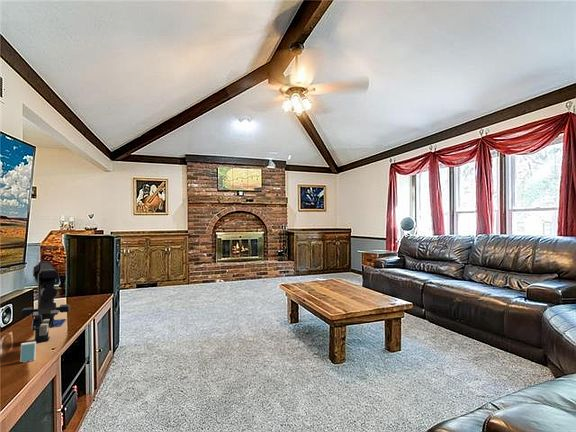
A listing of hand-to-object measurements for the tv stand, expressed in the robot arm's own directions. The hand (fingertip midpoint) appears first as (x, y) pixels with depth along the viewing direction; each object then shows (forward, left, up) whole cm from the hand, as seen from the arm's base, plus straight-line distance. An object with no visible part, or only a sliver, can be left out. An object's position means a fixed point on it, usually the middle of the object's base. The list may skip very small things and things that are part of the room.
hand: (45, 327), depth 157 cm
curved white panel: (+2, 0, -1) cm, 2 cm away
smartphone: (-45, +1, -11) cm, 46 cm away
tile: (+13, -5, -11) cm, 17 cm away
